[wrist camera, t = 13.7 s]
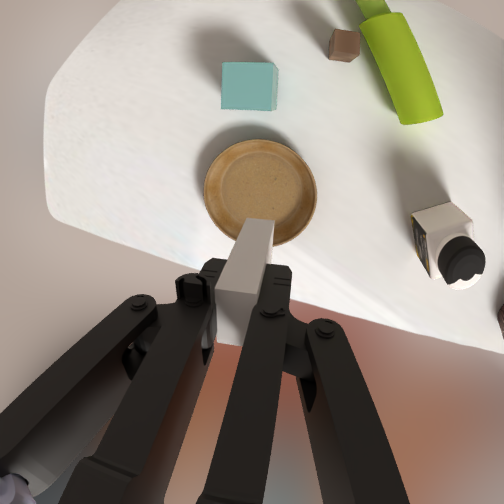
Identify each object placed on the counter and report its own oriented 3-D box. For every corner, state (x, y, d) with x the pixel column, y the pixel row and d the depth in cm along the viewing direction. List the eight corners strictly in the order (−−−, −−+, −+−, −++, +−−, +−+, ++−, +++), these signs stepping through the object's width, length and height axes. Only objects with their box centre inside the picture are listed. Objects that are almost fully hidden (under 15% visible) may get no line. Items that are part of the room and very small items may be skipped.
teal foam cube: (278, 69, 32) (273, 62, 26) (276, 109, 34) (271, 111, 28) (235, 68, 32) (222, 62, 26) (234, 107, 35) (220, 109, 29)
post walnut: (350, 44, 29) (360, 32, 23) (349, 62, 30) (359, 54, 24) (329, 41, 29) (335, 28, 23) (328, 59, 31) (334, 50, 25)
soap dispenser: (392, 129, 30) (319, -22, 22) (406, 117, 33) (345, -15, 26) (438, 122, 25) (360, -42, 18) (446, 110, 29) (381, -30, 21)
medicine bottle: (409, 213, 38) (440, 254, 28) (451, 200, 36) (491, 236, 26) (416, 255, 41) (443, 304, 31) (455, 242, 39) (490, 286, 28)
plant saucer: (238, 117, 36) (234, 118, 34) (337, 173, 38) (339, 178, 36) (193, 208, 44) (186, 214, 41) (281, 256, 45) (279, 265, 43)
